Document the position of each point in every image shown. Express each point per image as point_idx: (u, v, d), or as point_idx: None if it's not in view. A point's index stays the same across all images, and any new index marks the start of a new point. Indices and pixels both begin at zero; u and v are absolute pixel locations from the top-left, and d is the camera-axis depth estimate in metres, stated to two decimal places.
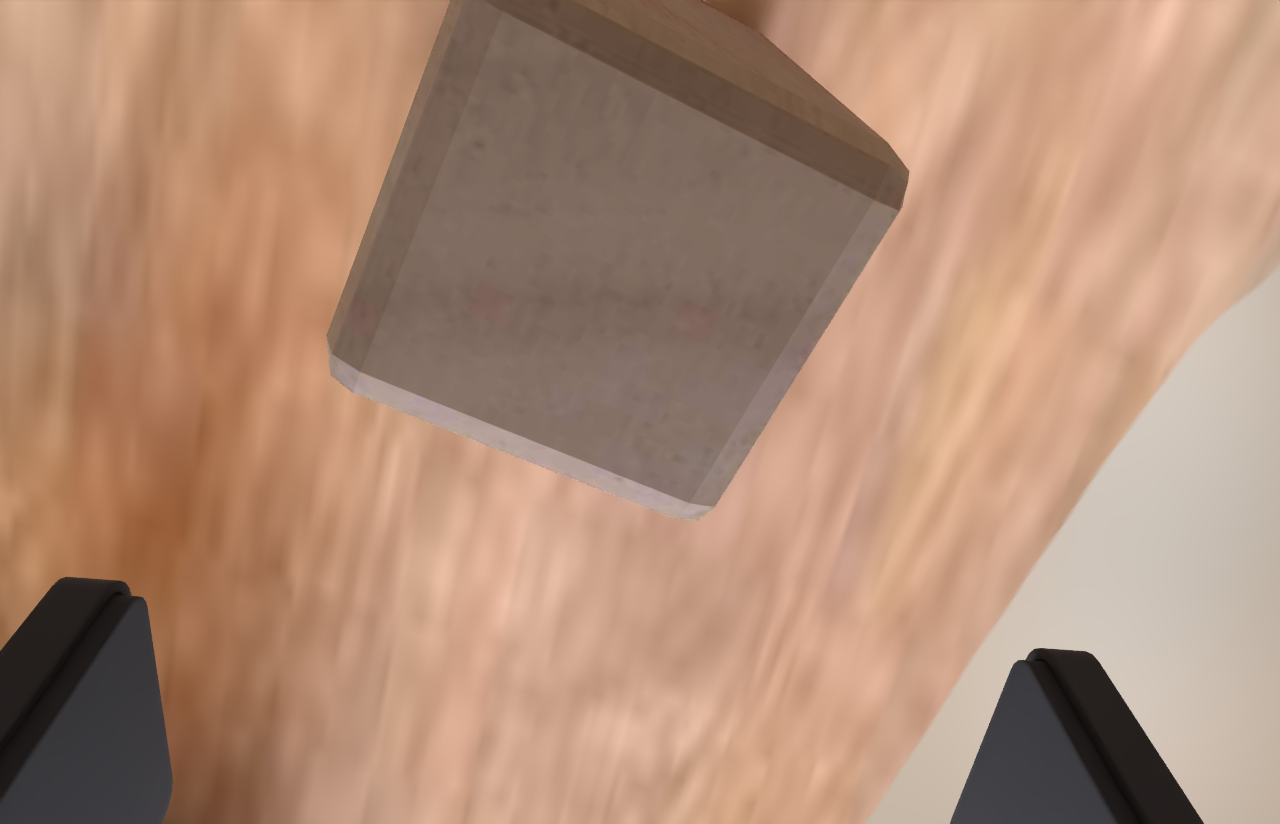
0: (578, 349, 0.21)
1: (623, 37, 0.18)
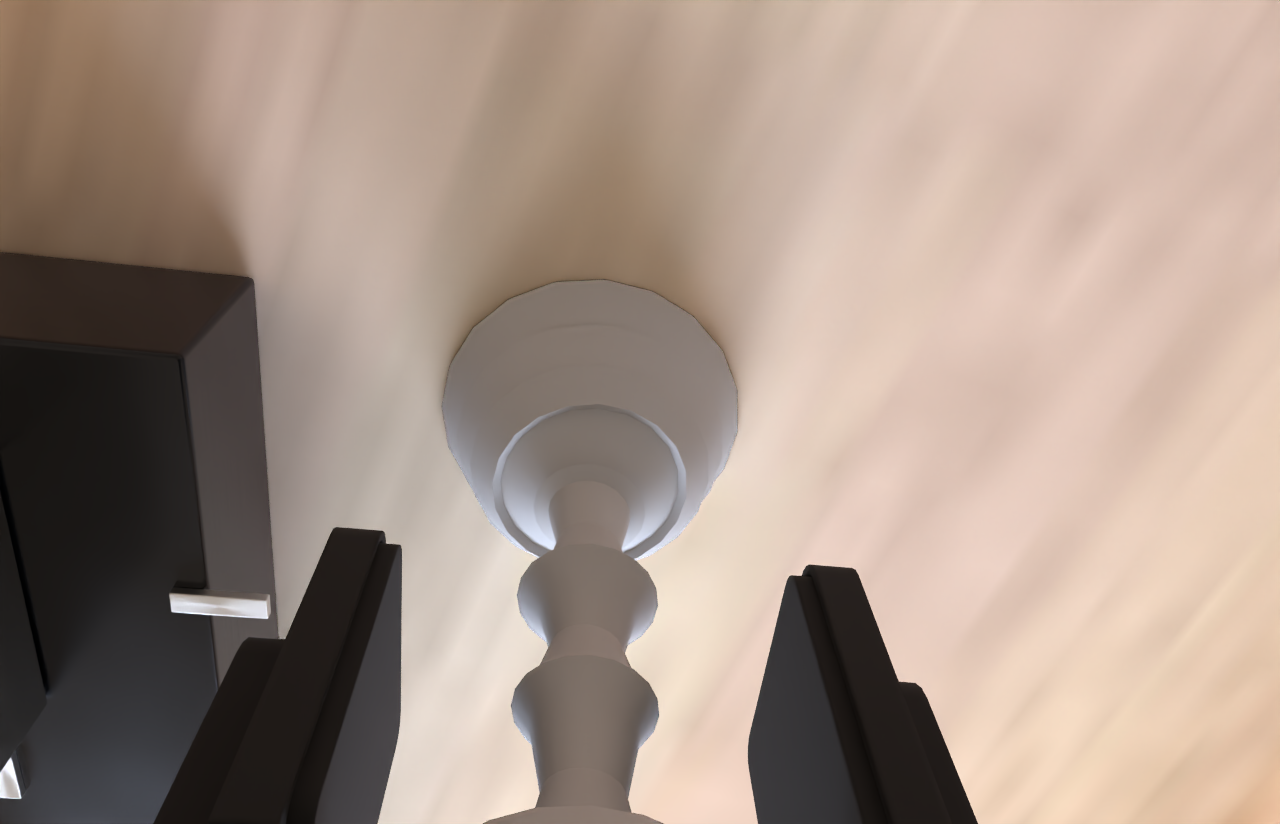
0: None
1: None
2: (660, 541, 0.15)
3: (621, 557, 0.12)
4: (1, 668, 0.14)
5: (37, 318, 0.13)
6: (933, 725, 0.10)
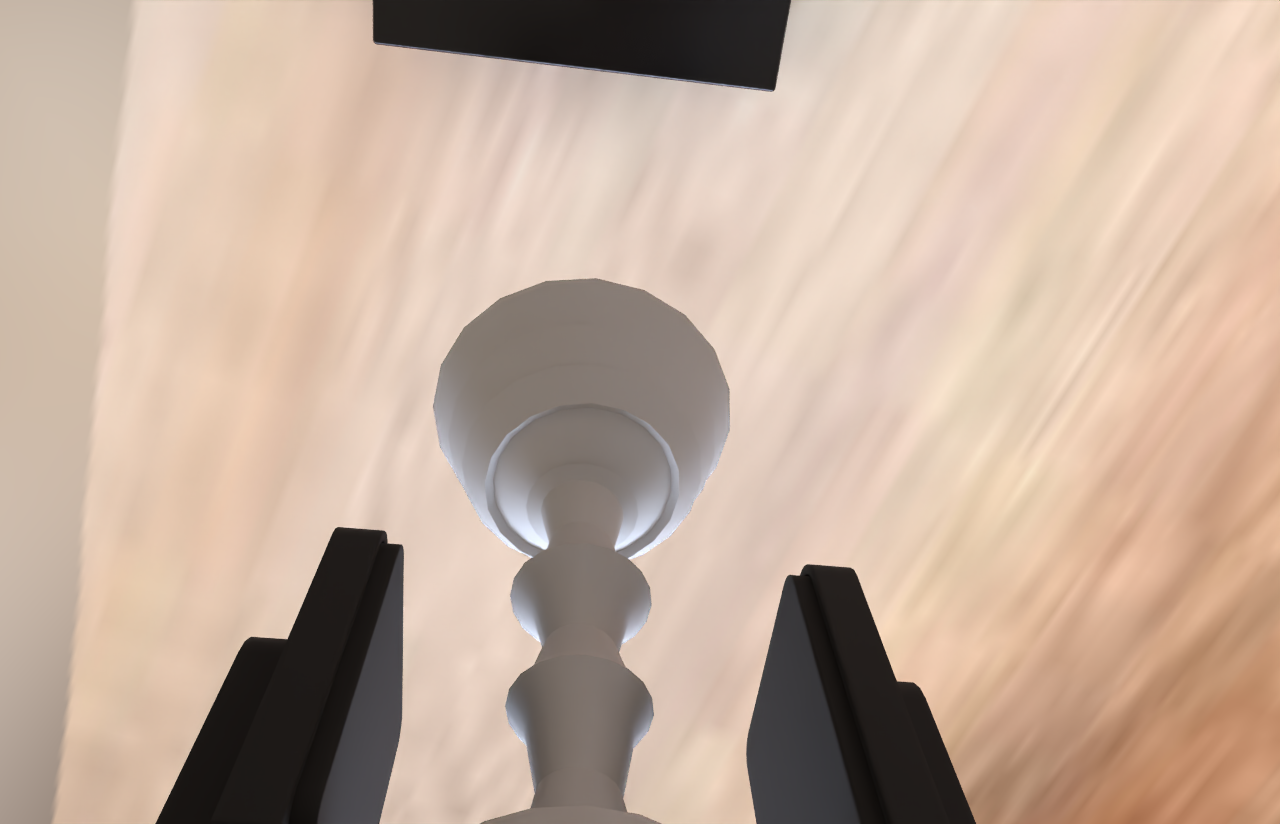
0: None
1: None
2: (653, 540, 0.15)
3: (614, 556, 0.12)
4: None
5: None
6: (931, 724, 0.10)
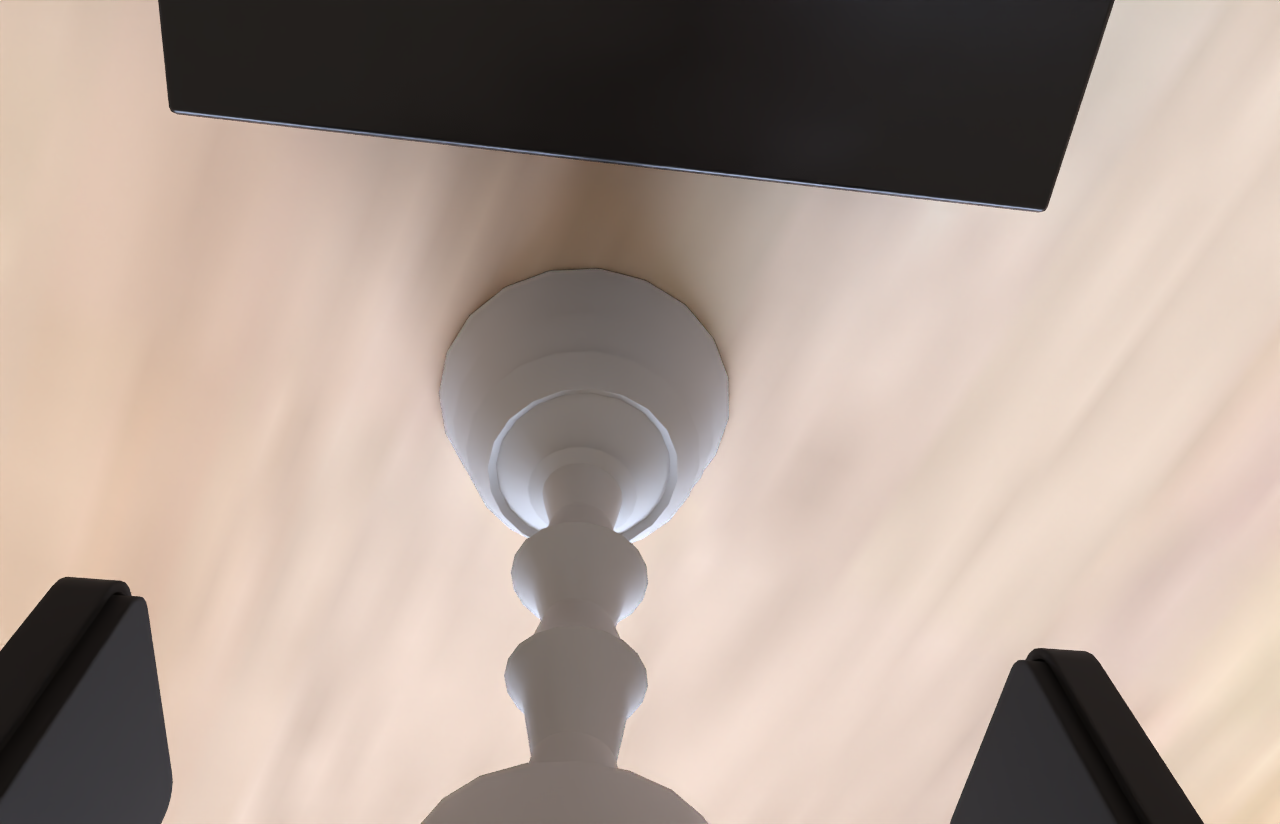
0: None
1: None
2: (652, 524, 0.15)
3: (612, 535, 0.12)
4: None
5: None
6: None
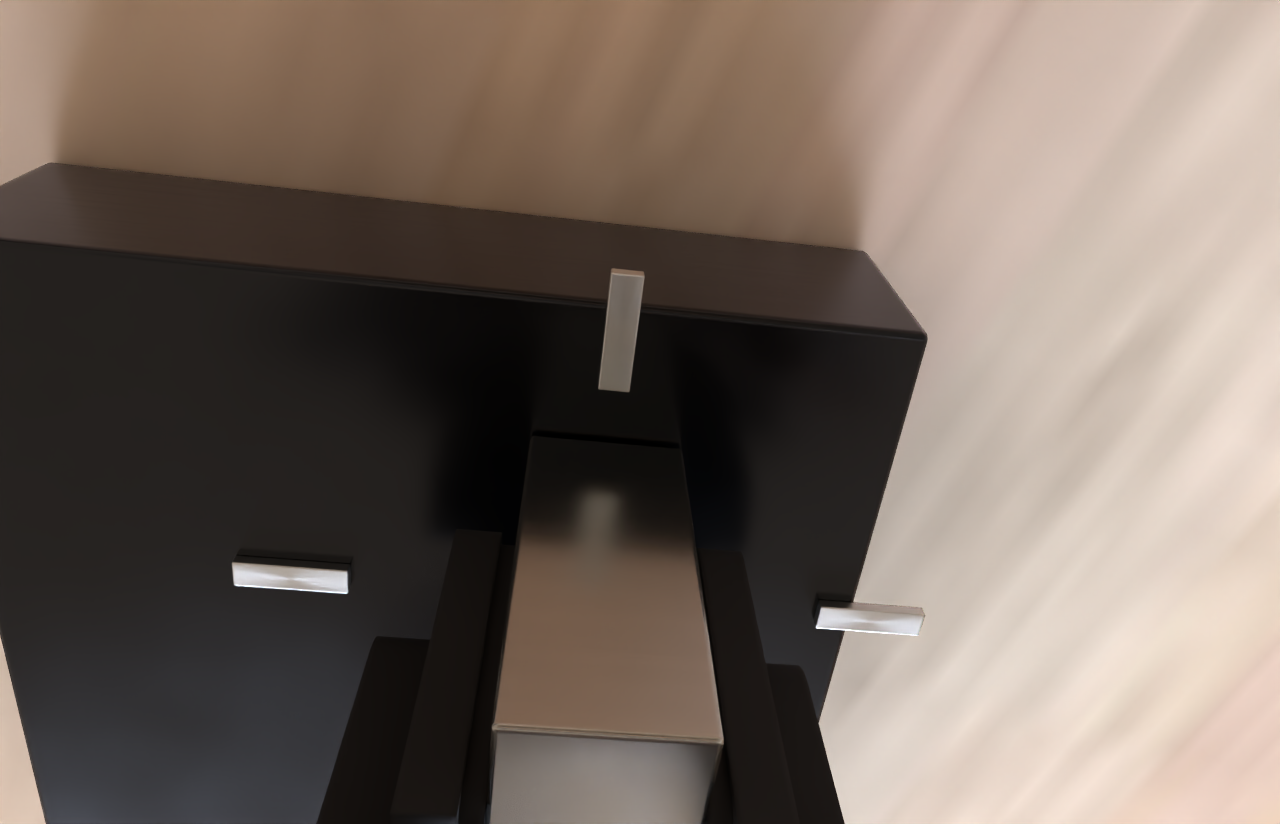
0: None
1: None
2: None
3: None
4: None
5: (738, 294, 0.11)
6: (808, 706, 0.10)
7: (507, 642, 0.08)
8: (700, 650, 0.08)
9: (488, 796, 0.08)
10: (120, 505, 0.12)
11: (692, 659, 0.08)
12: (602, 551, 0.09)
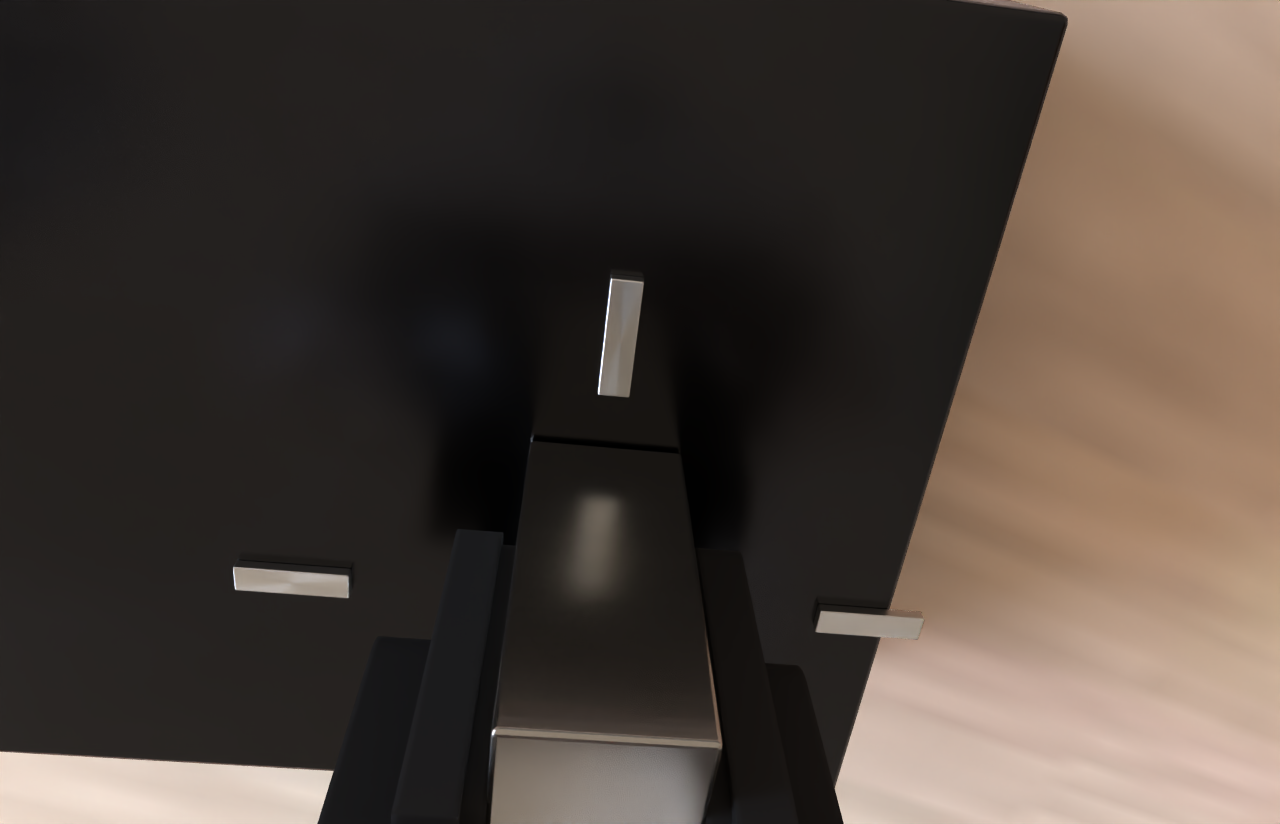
0: None
1: None
2: None
3: None
4: None
5: None
6: (807, 706, 0.10)
7: (507, 647, 0.08)
8: (699, 655, 0.08)
9: (488, 801, 0.08)
10: (717, 164, 0.10)
11: (691, 664, 0.08)
12: (602, 556, 0.09)
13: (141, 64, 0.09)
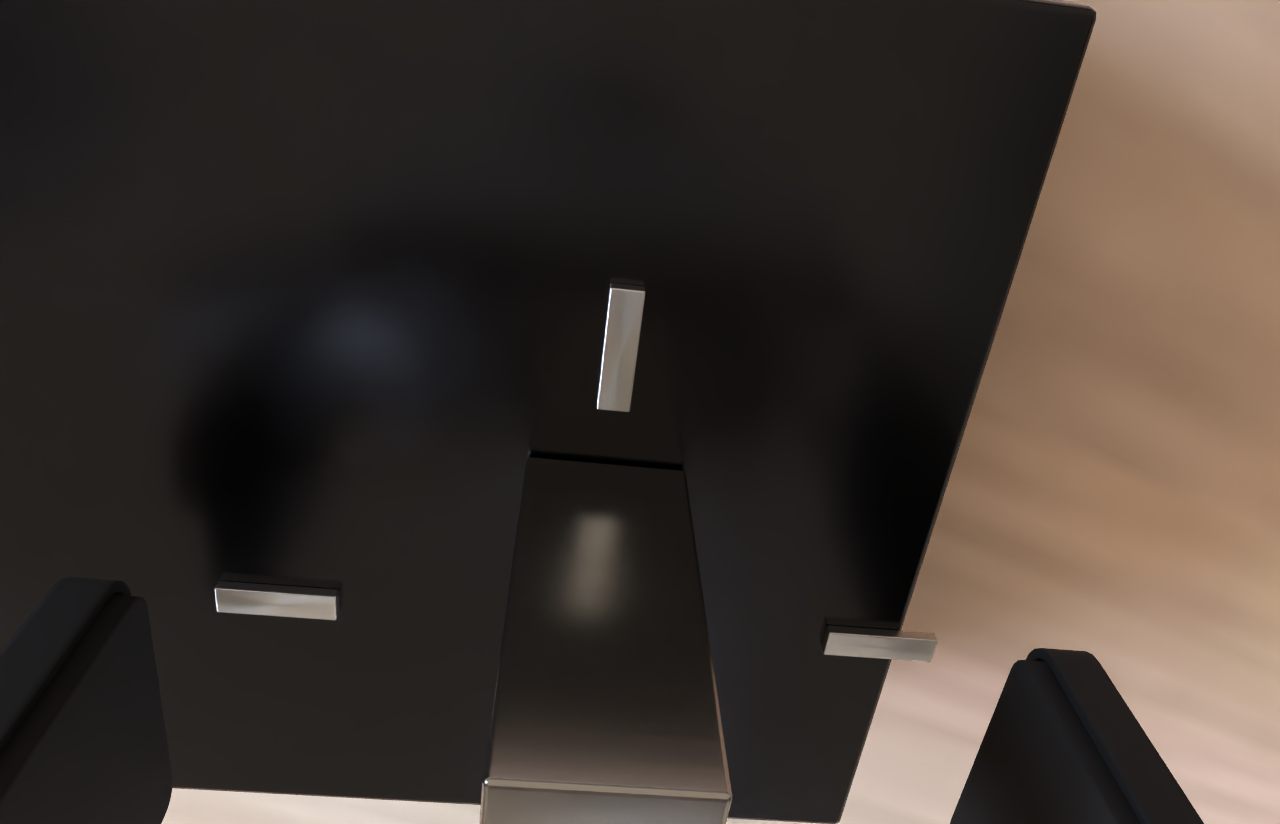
0: None
1: None
2: None
3: None
4: None
5: None
6: None
7: (500, 686, 0.08)
8: (706, 694, 0.08)
9: None
10: (722, 167, 0.09)
11: (698, 704, 0.08)
12: (601, 584, 0.09)
13: (110, 61, 0.09)
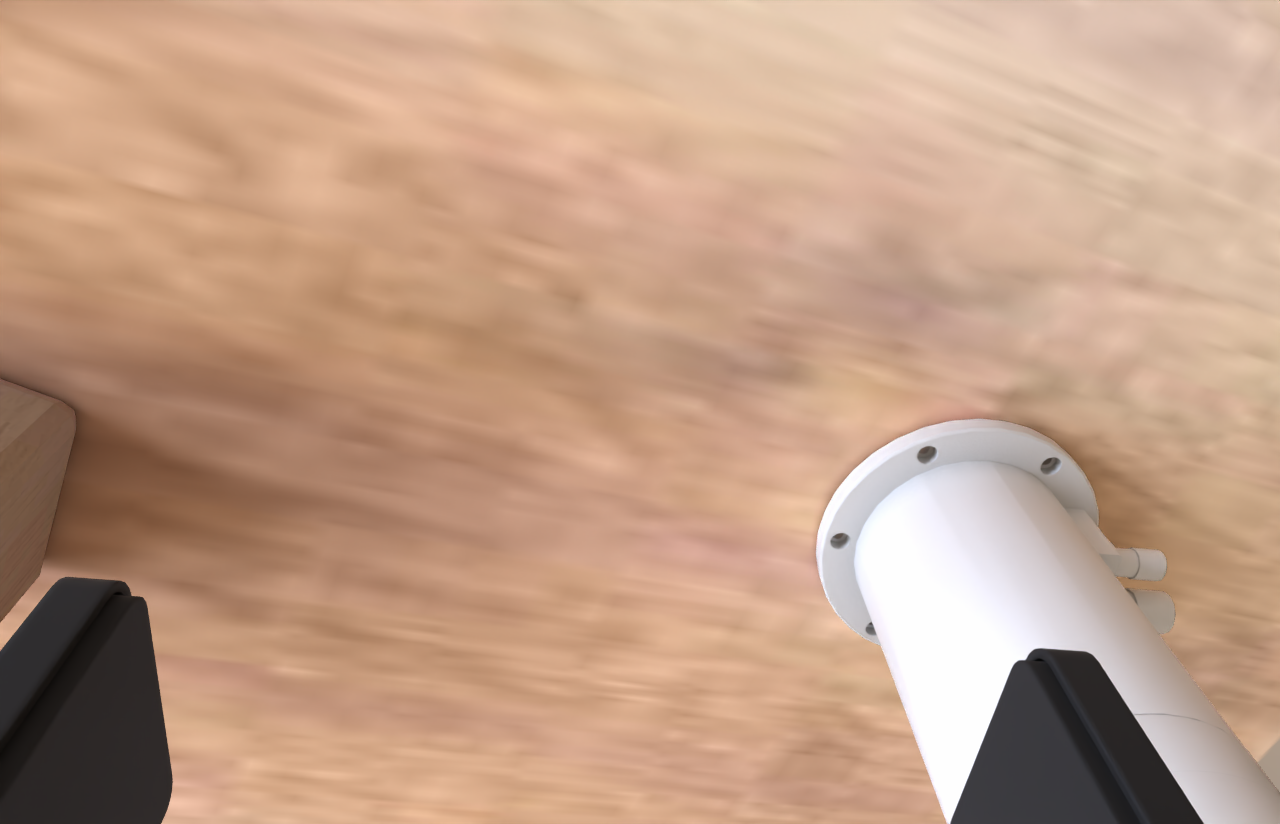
0: None
1: None
2: None
3: None
4: None
5: None
6: None
7: None
8: None
9: None
10: None
11: None
12: None
13: None
